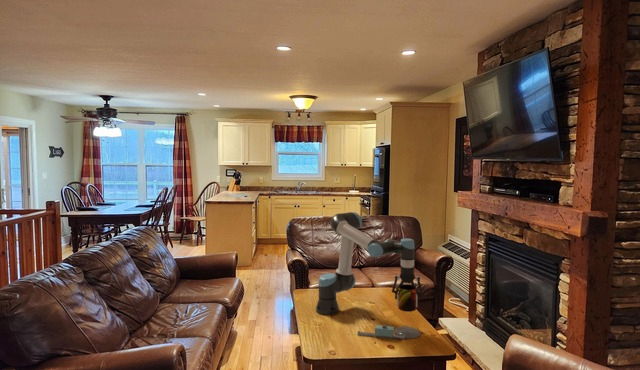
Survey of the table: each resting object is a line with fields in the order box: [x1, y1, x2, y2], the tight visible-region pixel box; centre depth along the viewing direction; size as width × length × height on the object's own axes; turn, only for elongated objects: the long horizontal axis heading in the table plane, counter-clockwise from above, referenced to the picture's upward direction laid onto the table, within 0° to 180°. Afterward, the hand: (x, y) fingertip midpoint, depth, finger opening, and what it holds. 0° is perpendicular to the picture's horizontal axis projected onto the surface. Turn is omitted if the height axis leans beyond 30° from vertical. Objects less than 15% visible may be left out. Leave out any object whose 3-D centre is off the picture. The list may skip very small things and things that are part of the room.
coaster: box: [394, 325, 421, 339], centre depth 213 cm, size 14×14×1 cm
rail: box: [357, 330, 406, 341], centre depth 209 cm, size 2×26×2 cm, turn 77°
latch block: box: [374, 324, 395, 337], centre depth 208 cm, size 4×10×5 cm, turn 77°
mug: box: [397, 284, 417, 313], centre depth 214 cm, size 10×14×12 cm
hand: (407, 305), depth 213 cm, fingers closed on mug, 10 cm apart
